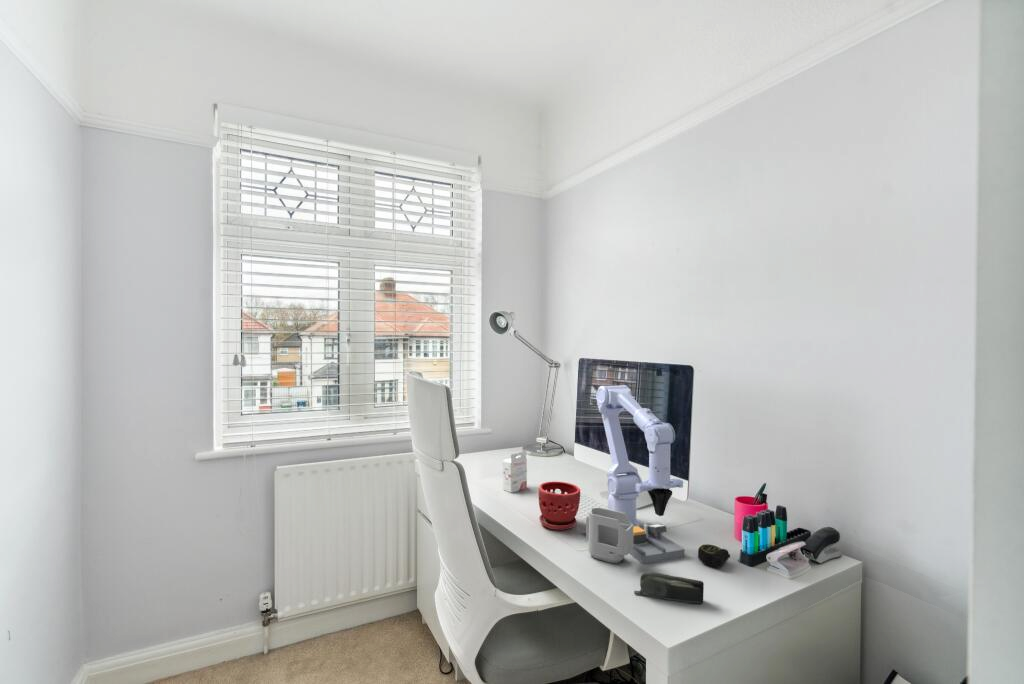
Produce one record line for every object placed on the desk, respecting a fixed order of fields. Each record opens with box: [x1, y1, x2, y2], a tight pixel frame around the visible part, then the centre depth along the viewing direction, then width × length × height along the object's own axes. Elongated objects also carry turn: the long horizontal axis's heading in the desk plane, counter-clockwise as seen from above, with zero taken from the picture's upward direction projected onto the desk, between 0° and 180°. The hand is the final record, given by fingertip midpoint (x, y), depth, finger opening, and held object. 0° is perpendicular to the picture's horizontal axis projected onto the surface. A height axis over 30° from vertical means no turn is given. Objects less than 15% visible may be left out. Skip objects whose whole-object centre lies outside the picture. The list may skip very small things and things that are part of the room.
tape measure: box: [697, 543, 731, 568], centre depth 123 cm, size 7×7×4 cm
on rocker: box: [640, 522, 668, 533], centre depth 135 cm, size 8×3×2 cm, turn 19°
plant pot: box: [538, 481, 581, 531], centre depth 147 cm, size 13×13×12 cm
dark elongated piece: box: [633, 571, 705, 605], centre depth 106 cm, size 5×3×15 cm
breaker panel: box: [628, 521, 686, 565], centre depth 132 cm, size 17×13×5 cm
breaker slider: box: [633, 526, 646, 544], centre depth 131 cm, size 4×4×3 cm
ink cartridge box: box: [502, 451, 528, 494], centre depth 182 cm, size 9×5×15 cm, turn 132°
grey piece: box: [585, 507, 633, 564], centre depth 125 cm, size 7×12×12 cm, turn 56°
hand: (659, 514), depth 132 cm, fingers closed
